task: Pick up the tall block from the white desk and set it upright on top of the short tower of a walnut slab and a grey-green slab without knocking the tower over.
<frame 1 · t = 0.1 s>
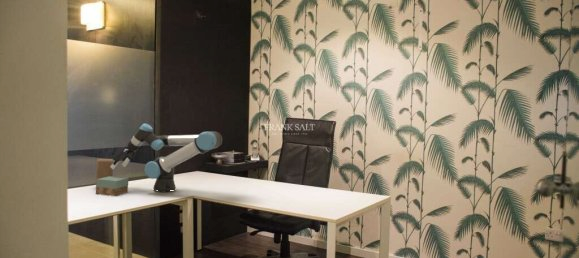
hand: (117, 167, 295), 15 cm above the table, tool tilted 35°, fingers open, 13 cm apart
block: (103, 188, 297), on the table
tower top: (112, 186, 282), point 5 cm above the table, touching tower base
tower base: (111, 193, 282), on the table, touching tower top
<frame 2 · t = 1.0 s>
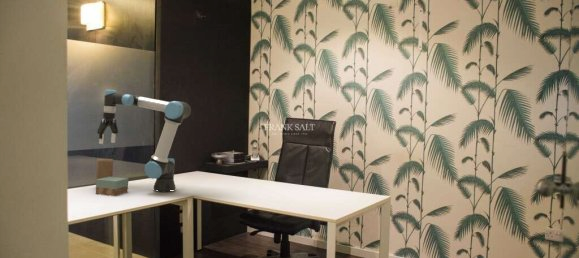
hand: (107, 143, 296), 31 cm above the table, tool pointing down, fingers open, 13 cm apart
nothing on the table moved.
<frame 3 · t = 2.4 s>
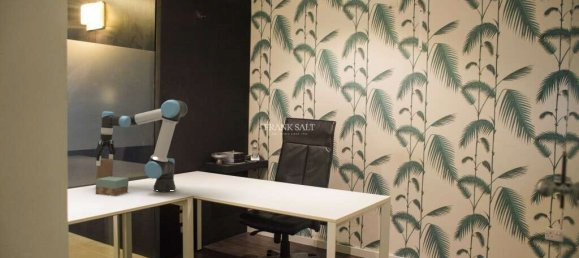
hand: (104, 164, 296), 16 cm above the table, tool pointing down, fingers open, 13 cm apart
nothing on the table moved.
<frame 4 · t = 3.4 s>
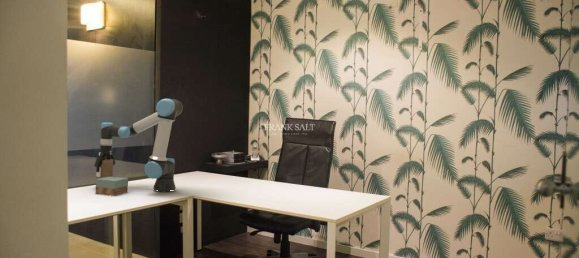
hand: (104, 175, 297), 9 cm above the table, tool pointing down, fingers closed on block, 13 cm apart
block: (103, 188, 297), on the table, touching gripper
everything else where it was.
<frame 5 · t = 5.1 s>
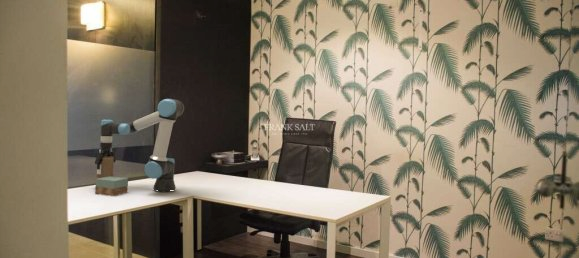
hand: (105, 172, 296), 11 cm above the table, tool pointing down, fingers closed on block, 13 cm apart
block: (104, 185, 297), point 2 cm above the table, touching gripper
everything else where it was.
when the fingers open (20 cm above the table, at t = 12.4 s): block drops 2 cm, point 9 cm above the table.
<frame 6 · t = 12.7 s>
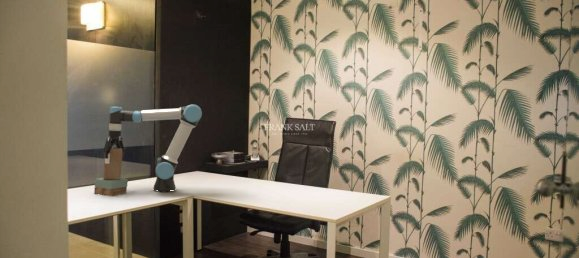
hand: (113, 162, 282), 20 cm above the table, tool pointing down, fingers open, 13 cm apart
block: (112, 179, 282), point 9 cm above the table, touching gripper
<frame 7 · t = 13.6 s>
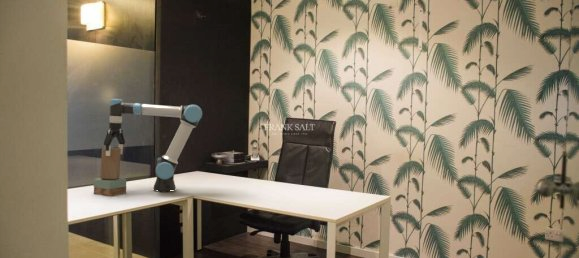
hand: (114, 154, 282), 25 cm above the table, tool pointing down, fingers open, 13 cm apart
block: (109, 178, 281), point 9 cm above the table, touching gripper, tower top
tower top: (109, 186, 281), point 4 cm above the table, touching block, tower base
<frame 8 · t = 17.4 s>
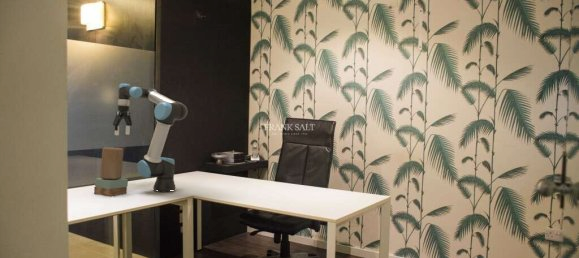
hand: (122, 134, 309), 37 cm above the table, tool pointing down, fingers open, 13 cm apart
block: (111, 178, 280), point 10 cm above the table, touching tower top
tower top: (111, 186, 281), point 5 cm above the table, touching block
tower base: (110, 194, 281), on the table
at the end: block inside the target area on the tower base (0.4 cm from its centre), point 10.0 cm above the tower base's base; block tilted 2°; tower top 0.2 cm off-centre on the tower base, point 5.0 cm above the tower base's base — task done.
